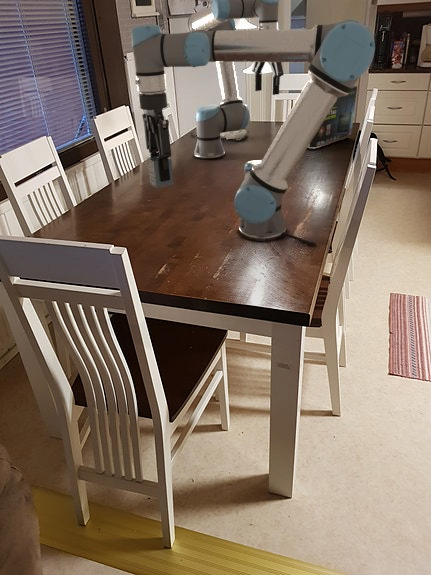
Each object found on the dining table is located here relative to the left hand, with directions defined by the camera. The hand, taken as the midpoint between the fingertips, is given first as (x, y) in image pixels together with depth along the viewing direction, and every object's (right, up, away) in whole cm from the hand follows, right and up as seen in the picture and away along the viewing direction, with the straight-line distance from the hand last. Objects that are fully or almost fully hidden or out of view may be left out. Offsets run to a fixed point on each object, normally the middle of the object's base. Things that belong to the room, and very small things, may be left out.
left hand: (266, 92), depth 193 cm
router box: (+37, -5, +52) cm, 64 cm away
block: (-37, -52, -58) cm, 87 cm away
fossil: (-12, +3, +69) cm, 70 cm away
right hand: (-37, -50, -59) cm, 86 cm away
